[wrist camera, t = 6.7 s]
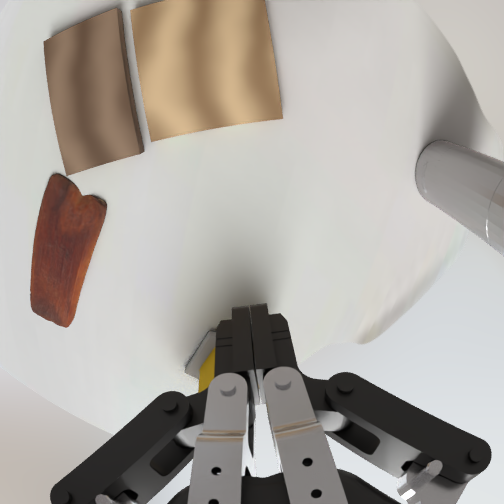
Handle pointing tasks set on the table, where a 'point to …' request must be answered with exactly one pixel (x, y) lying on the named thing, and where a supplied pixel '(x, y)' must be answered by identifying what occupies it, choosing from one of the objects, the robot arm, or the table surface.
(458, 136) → the table surface
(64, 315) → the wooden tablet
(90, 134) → the walnut board
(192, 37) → the light wood board
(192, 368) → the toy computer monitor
